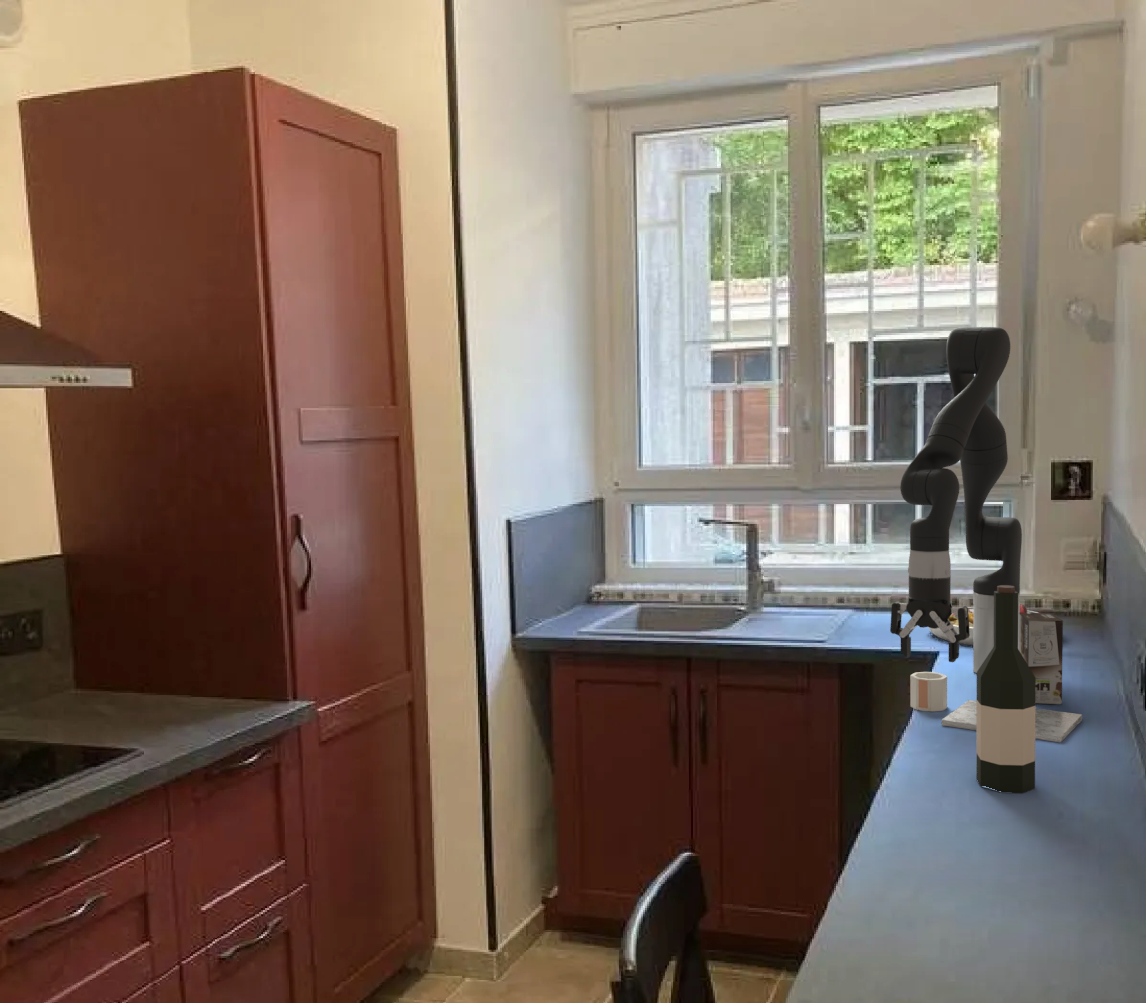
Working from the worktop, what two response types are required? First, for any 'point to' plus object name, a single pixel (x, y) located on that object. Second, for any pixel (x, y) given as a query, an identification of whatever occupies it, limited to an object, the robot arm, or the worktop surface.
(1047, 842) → the worktop surface
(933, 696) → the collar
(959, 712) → the duct plate
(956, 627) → the bowl
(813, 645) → the worktop surface
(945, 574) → the robot arm
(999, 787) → the wine bottle
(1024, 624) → the coffee box
